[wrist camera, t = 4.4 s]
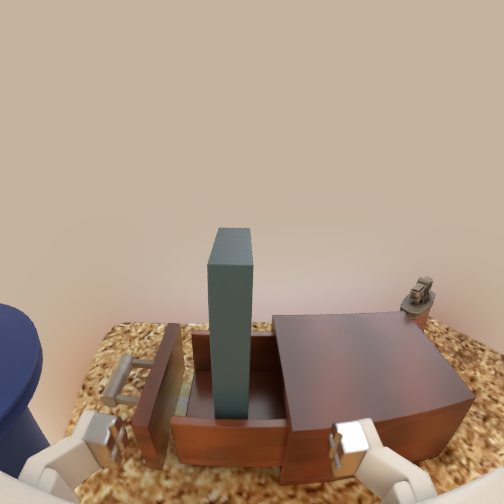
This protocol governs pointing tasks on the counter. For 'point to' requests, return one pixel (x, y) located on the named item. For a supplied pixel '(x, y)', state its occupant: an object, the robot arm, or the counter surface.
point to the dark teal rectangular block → (230, 321)
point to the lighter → (419, 302)
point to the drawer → (204, 406)
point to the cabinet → (363, 387)
